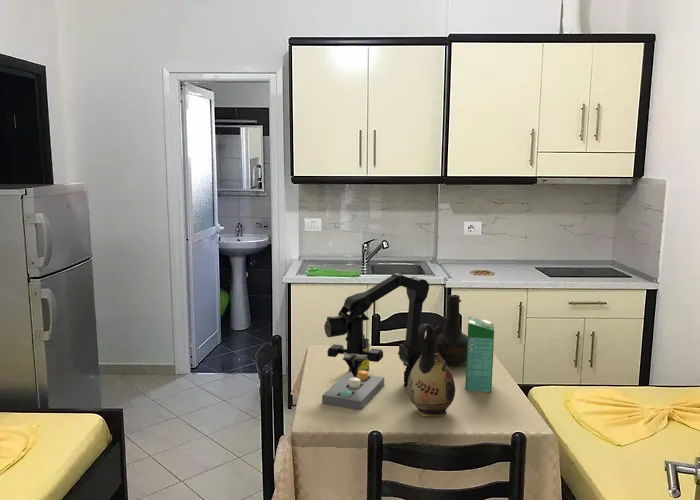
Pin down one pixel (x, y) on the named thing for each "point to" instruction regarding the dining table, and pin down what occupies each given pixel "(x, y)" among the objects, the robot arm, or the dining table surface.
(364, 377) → the orange button
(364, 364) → the supplement box
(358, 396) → the console
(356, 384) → the cream button
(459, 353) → the glass bottle
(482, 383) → the milk carton
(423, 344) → the ceramic jug
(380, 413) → the dining table surface
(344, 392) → the teal button
